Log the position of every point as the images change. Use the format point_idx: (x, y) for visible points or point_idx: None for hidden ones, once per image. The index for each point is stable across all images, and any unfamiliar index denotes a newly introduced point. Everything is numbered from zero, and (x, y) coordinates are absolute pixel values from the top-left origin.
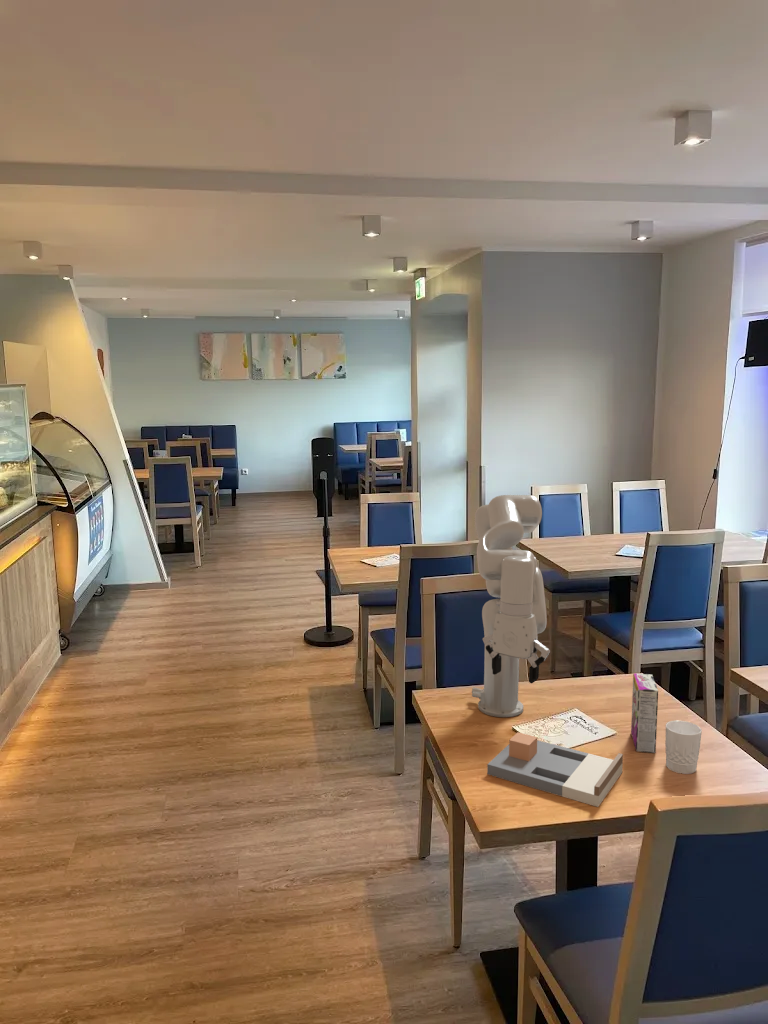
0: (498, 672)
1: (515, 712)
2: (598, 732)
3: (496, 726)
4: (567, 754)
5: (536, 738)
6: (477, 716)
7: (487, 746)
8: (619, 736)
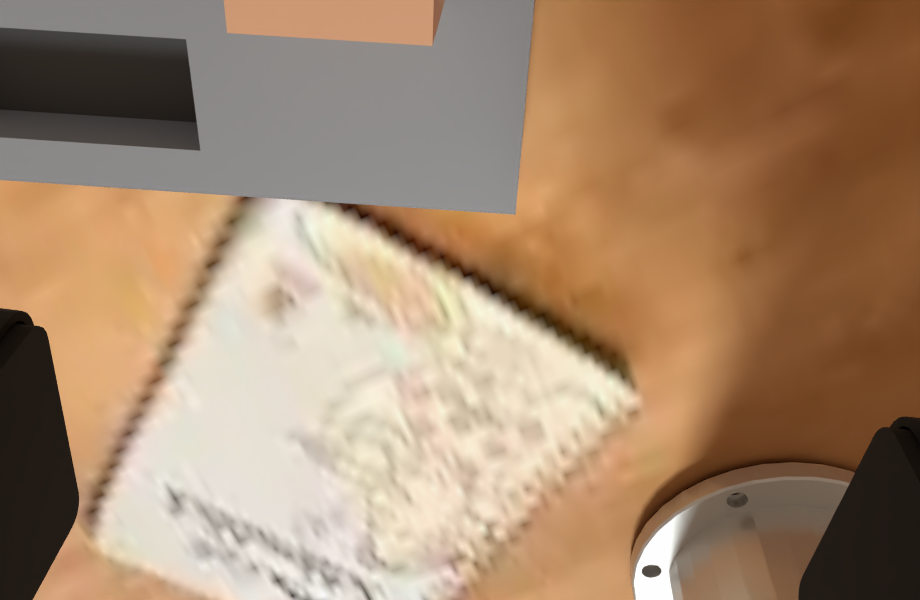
0: (834, 520)
1: (659, 529)
2: (165, 512)
3: (737, 356)
4: (107, 131)
5: (226, 9)
6: None
7: (724, 45)
8: None
